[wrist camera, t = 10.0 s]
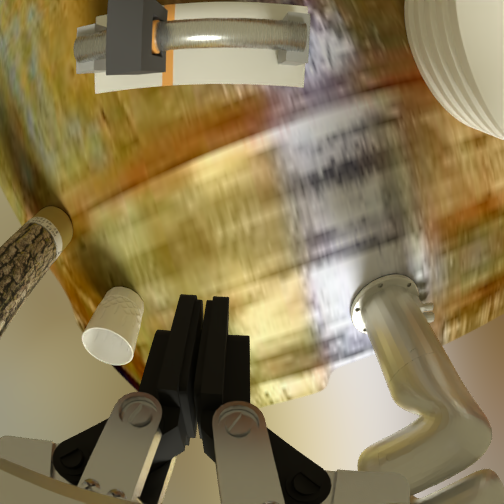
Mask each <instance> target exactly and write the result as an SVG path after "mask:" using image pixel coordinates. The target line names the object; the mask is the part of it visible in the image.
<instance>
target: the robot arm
mask: <svg viewBox="0 0 504 504" xmlns="http://www.w3.org/2000/svg"><path fill="white" fill-rule="evenodd" d="M430 310H433V303H424V304H423V303H422V302H421V301H420V300H419V291H418V288H417V286H416V284H415V283H414V282H413V280H411V279H410V278H409V277H407V276H404V275H399V274H392V275H387V276H384V277H381V278H378V279H376V280H374V281H372V282H371V283H370V284H368V285H367V286H366V287H364V288H363V289H362V290H361V291H360V292H359V294H358V295H357V296H356V298H355V300H354V301H353V304H352V307H351V313H350V314H351V319H352V322H353V324H354V326H355V327H356V328H357V329H358V330H359V331H361V332H362V333H366V334H368V337H369V339H370V341H371V344H372V346H373V349H374V351H375V354H376V357H377V359H378V362H379V364H380V367H381V369H382V372H383V375H384V377H385V380H386V383H387V385H388V388H389V391H390V393H391V396H392V398H393V400H394V401H395V403H396V404H397V405H398V406H399V407H401V408H402V409H404V410H406V411H408V412H411V413H414V414H417V415H420V416H419V418H418V419H417V420H416V421H414V422H413V423H411V424H410V425H408V426H407V427H405V428H403V429H401V430H399V431H398V432H396V433H394V434H392V435H390V436H388V437H386V438H384V439H382V440H380V441H378V442H376V443H374V444H373V445H371V446H369V447H368V448H366V449H365V450H364V451H363V452H362V453H361V455H360V457H359V460H358V471H349V470H337V471H326V470H323V468H321V467H320V466H318V465H317V464H315V463H314V462H313V461H311V460H310V459H308V458H307V457H305V456H304V455H303V454H301V453H300V452H299V451H297V450H296V449H295V448H293V447H292V446H290V445H289V444H288V443H286V442H285V441H284V440H282V439H281V438H280V437H279V436H277V435H276V434H275V433H273V432H272V431H271V430H269V429H268V428H267V427H266V422H265V418H264V416H263V414H262V412H261V411H260V410H259V409H258V408H257V407H256V406H254V405H252V404H251V403H250V339H249V336H242V335H228V320H229V297H216V296H213V300H207V302H206V309H205V315H204V321H203V301H202V300H197V296H196V295H183V294H181V295H180V298H179V301H178V305H177V309H176V312H175V316H174V320H173V324H172V327H171V331H167V330H157V331H156V333H155V336H154V339H153V342H152V346H151V349H150V353H149V356H148V359H147V363H146V366H145V370H144V373H143V377H142V380H141V384H140V388H139V391H138V392H133V393H129V394H127V395H124V396H123V397H122V398H120V399H119V400H118V402H117V403H116V404H115V406H114V408H113V411H112V412H111V415H110V417H109V418H108V419H106V420H104V421H102V422H101V423H99V424H97V425H95V426H93V427H91V428H89V429H87V430H85V431H83V432H81V433H79V434H78V435H75V436H73V437H71V438H69V439H67V440H65V441H63V442H62V443H60V444H56V443H54V442H53V441H47V440H38V439H29V438H22V437H15V436H3V437H1V438H0V504H162V503H163V499H164V496H165V493H166V490H167V486H168V483H169V480H170V477H171V474H172V470H173V467H174V464H175V461H176V456H177V455H178V454H180V453H181V452H183V451H184V450H185V445H189V441H190V438H195V437H196V430H197V422H198V429H199V435H200V438H201V439H202V440H203V446H204V453H206V454H207V455H208V456H209V457H210V458H211V459H212V460H213V461H214V462H215V464H216V471H217V479H218V486H219V494H220V500H221V504H504V487H503V484H502V482H501V480H500V479H499V477H498V475H497V474H496V473H495V472H494V471H492V470H490V469H483V470H479V471H476V472H474V473H472V474H470V475H468V476H466V477H464V478H462V479H460V480H458V481H456V482H454V483H452V484H450V485H448V486H447V487H444V488H442V489H440V490H438V491H436V492H434V493H432V494H430V495H428V496H425V497H423V498H420V499H419V498H416V497H415V496H413V495H414V494H416V493H419V492H421V491H423V490H425V489H427V488H429V487H432V486H433V485H437V484H438V483H440V482H442V481H445V480H446V479H448V478H450V477H452V476H454V475H456V474H458V473H459V472H461V471H463V470H465V469H466V468H468V467H469V466H471V465H472V464H473V463H475V462H476V461H477V460H478V459H479V458H480V457H481V456H482V455H483V454H484V453H485V452H486V450H487V449H488V447H489V445H490V443H491V439H492V429H491V426H490V423H489V421H488V419H487V417H486V415H485V414H484V412H483V411H482V409H481V408H480V407H479V405H478V404H477V402H476V401H475V400H474V398H473V397H472V396H471V394H470V393H469V391H468V390H467V388H466V387H465V385H464V384H463V382H462V380H461V379H460V377H459V375H458V373H457V372H456V370H455V368H454V366H453V365H452V363H451V361H450V359H449V357H448V356H447V354H446V352H445V350H444V349H443V347H442V345H441V343H440V341H439V340H438V338H437V336H436V335H435V333H434V331H433V329H432V328H431V326H430V324H429V322H433V321H434V313H433V312H423V311H430Z"/></svg>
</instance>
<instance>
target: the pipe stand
mask: <svg viewBox="0 0 504 504" xmlns="http://www.w3.org/2000/svg"><path fill="white" fill-rule="evenodd" d="M162 6H163V7H164V5H162ZM307 13H308V7H305V6H297V5H287V4H276V3H260V2H198V3H183V4H175V20H183V19H200V18H256V19H273V20H286V21H296V22H304V23H306V25H307V42H306V47H305V50H304V52H296V51H284V50H270V49H249V48H203V49H182V50H173V85H187V84H259V85H278V86H291V87H303V88H304V74H305V63H308V54H309V34H310V14H307ZM103 30H107V15H102V16H98V17H96V24H91V25H87V26H83V27H79V28H77V37H78V36H81V35H86V34H90V33H94V32H99V31H103ZM76 71H77V74H81V73H95V94H97V93H103V92H110V91H118V90H126V89H134V88H144V87H155V86H162V73H150V74H141V75H106V59H101V60H95V61H90V62H85V63H78V62H77V61H76Z"/></svg>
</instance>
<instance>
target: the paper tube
mask: <svg viewBox="0 0 504 504" xmlns="http://www.w3.org/2000/svg"><path fill="white" fill-rule="evenodd" d="M72 236H73V228H72V223H71V221H70V219H69V217H68V216H67V214H66V213H65V212H64V211H62V210H61V209H59V208H57V207H53V206H48V207H45V208H43V209H41V210H40V211H39V212H38V213H37V214H36V215H35V216H33V217H32V218H31V219H30V220H29V221H28V222H26V223H25V224H24V225H23V226H22V227H21V228H20V229H19V230H18V231H17V232H16V233H15V234H14V235H12V237H10V238H9V239H8V240H7V241H6V242H5V243H4V244H3V245H2V246H1V247H0V338H1V337H2V335H3V333H4V332H5V330H6V329H7V327H8V325H9V324H10V322H11V321H12V319H13V318H14V316H15V315H16V313H17V312H18V310H19V309H20V307H21V306H22V305H23V303H24V302H25V300H26V299H27V297H28V296H29V294H30V293H31V292H32V290H33V289H34V288H35V286H36V285H37V283H38V282H39V281H40V280H41V278H42V277H43V275H44V274H45V273H46V272H47V270H48V269H49V268H50V266H51V265H52V264H53V263H54V261H55V260H56V259H57V258H58V256H59V255H60V254H61V252H62V251H63V250H64V249H65V247H66V246H67V245H68V244H69V242H70V241H71V239H72Z"/></svg>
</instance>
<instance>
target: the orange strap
mask: <svg viewBox="0 0 504 504" xmlns="http://www.w3.org/2000/svg"><path fill="white" fill-rule="evenodd" d="M164 8H165V9H167V10H168V15H167V21H171V20H175V4H169V5H164ZM157 22H160V21H159V20H153V27H152V54H157V53H160V51H157V50H156V48H155V44H154V29H155V25H156V23H157ZM169 85H173V50H168V51H166V72H162V86H169Z"/></svg>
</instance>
